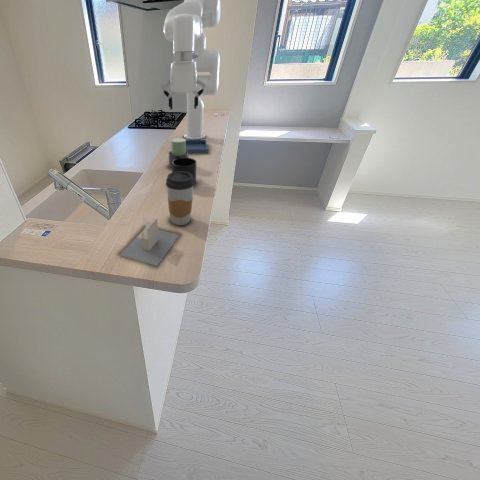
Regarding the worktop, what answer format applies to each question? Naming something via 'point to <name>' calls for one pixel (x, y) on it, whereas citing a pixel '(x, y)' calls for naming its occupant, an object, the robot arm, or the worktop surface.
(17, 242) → the worktop surface
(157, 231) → the architectural model
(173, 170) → the mug
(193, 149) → the tray
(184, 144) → the green cup
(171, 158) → the dark gray cup
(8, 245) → the worktop surface
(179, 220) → the coffee cup
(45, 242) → the worktop surface
